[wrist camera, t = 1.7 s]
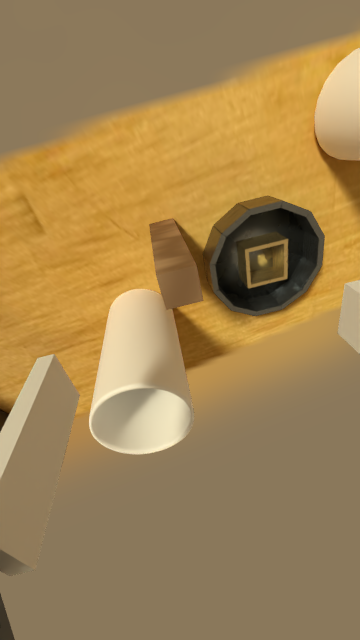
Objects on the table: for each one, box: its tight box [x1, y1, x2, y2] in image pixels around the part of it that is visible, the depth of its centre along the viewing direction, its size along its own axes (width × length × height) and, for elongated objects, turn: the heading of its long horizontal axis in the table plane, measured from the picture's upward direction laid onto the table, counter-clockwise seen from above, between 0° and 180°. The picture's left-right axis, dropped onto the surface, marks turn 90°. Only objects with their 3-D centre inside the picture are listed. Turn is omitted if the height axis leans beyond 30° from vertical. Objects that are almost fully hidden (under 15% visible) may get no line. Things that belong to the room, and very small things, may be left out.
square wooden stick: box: [149, 218, 203, 310], centre depth 23 cm, size 3×3×14 cm
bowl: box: [203, 196, 325, 316], centre depth 30 cm, size 12×12×4 cm
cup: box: [89, 289, 194, 454], centre depth 28 cm, size 8×8×16 cm
